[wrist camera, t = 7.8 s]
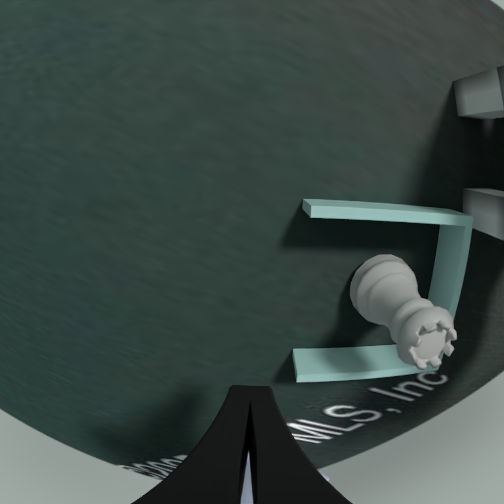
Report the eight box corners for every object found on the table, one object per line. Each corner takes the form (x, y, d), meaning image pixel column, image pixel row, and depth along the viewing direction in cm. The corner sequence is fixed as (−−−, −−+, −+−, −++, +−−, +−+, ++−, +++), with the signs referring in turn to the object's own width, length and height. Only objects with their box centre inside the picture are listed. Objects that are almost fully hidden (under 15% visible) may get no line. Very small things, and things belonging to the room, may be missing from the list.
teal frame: (292, 355, 21) (296, 382, 19) (303, 198, 19) (311, 205, 16) (421, 348, 21) (437, 369, 18) (448, 208, 18) (473, 216, 16)
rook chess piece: (410, 305, 20) (467, 368, 13) (351, 321, 21) (391, 397, 13) (406, 245, 19) (476, 291, 11) (343, 260, 20) (390, 319, 12)
